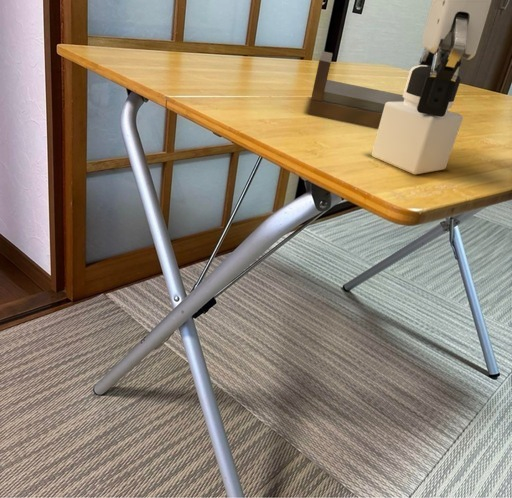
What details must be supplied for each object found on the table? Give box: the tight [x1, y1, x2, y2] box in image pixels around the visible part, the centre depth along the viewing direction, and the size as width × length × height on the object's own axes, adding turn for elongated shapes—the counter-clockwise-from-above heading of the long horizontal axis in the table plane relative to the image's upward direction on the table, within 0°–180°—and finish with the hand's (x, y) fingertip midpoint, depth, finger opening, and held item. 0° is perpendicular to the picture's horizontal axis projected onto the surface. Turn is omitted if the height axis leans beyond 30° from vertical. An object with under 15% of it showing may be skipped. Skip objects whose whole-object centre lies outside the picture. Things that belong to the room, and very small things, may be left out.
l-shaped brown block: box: [307, 51, 405, 130], centre depth 87 cm, size 16×14×8 cm
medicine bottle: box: [371, 64, 464, 176], centre depth 64 cm, size 7×7×12 cm
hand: (425, 106), depth 64 cm, fingers closed on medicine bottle, 7 cm apart
